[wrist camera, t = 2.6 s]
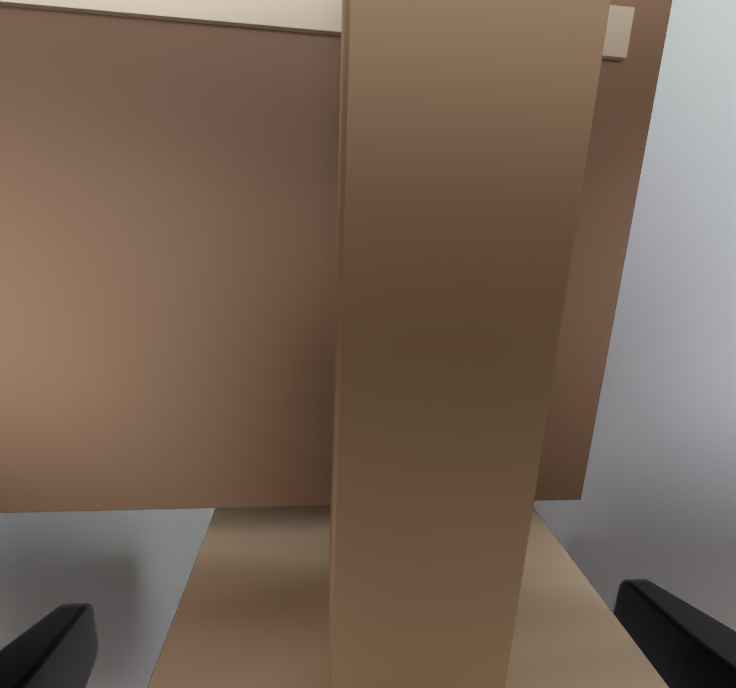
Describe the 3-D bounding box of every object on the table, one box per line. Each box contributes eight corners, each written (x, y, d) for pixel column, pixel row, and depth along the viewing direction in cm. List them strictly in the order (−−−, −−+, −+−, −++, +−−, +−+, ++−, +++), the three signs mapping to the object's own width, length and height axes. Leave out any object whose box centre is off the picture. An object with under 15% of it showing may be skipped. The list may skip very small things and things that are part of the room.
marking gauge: (474, 620, 10) (693, 1193, 4) (241, 632, 9) (103, 1315, 3) (544, 54, 7) (1596, -761, 1) (218, 26, 6) (-654, -1667, 1)
